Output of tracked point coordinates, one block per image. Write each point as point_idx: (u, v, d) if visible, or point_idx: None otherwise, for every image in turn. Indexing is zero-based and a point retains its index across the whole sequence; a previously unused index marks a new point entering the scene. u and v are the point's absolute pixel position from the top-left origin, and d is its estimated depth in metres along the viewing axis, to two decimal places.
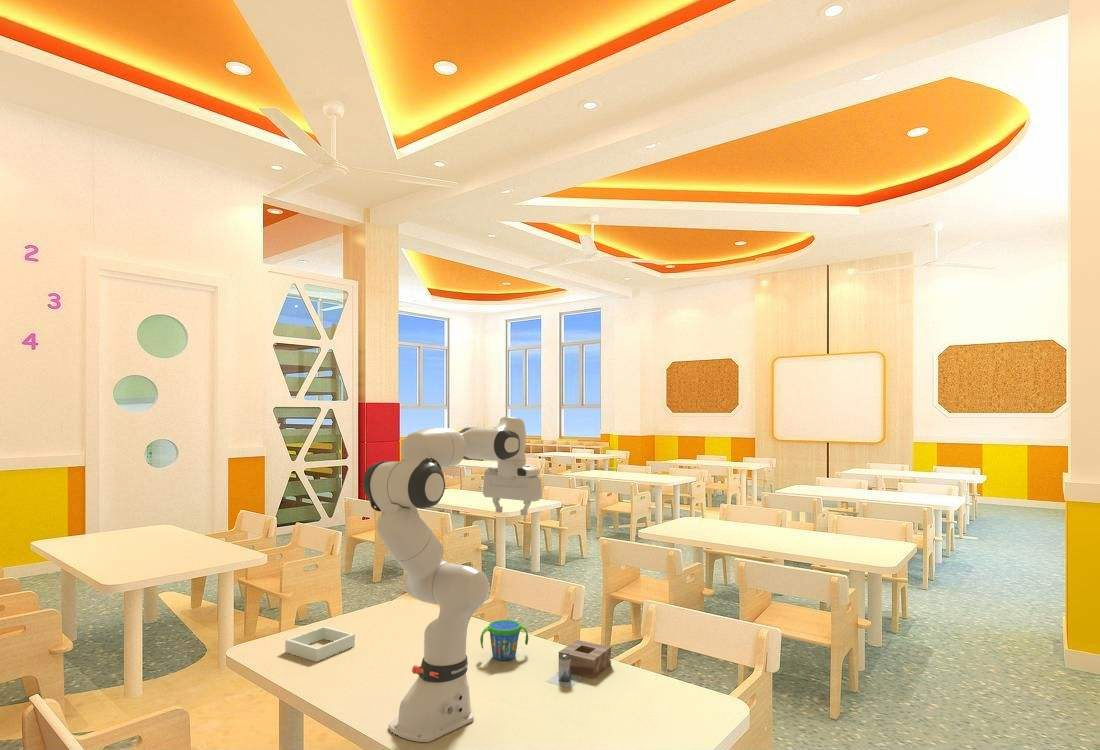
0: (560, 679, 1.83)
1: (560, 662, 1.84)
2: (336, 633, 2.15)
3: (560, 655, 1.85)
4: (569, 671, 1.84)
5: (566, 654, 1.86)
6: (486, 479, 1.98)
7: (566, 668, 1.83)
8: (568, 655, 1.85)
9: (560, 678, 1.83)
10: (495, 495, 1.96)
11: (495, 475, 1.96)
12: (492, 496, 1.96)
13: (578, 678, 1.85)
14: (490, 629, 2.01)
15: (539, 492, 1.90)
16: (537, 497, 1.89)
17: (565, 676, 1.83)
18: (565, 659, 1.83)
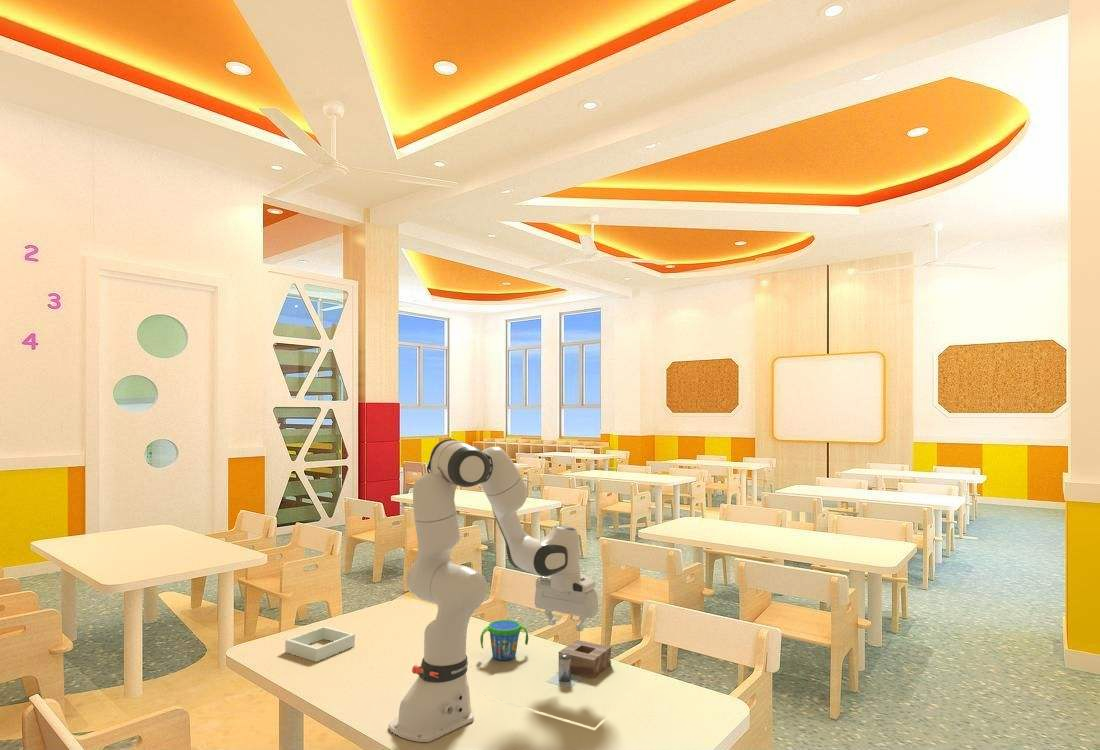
0: (560, 679, 1.83)
1: (560, 662, 1.84)
2: (336, 633, 2.15)
3: (560, 655, 1.85)
4: (569, 671, 1.84)
5: (566, 654, 1.86)
6: (538, 590, 1.89)
7: (566, 668, 1.83)
8: (568, 655, 1.85)
9: (560, 678, 1.83)
10: (548, 607, 1.87)
11: (548, 586, 1.87)
12: (545, 608, 1.88)
13: (578, 678, 1.85)
14: (490, 629, 2.01)
15: (596, 608, 1.81)
16: (594, 614, 1.80)
17: (565, 676, 1.83)
18: (565, 659, 1.83)
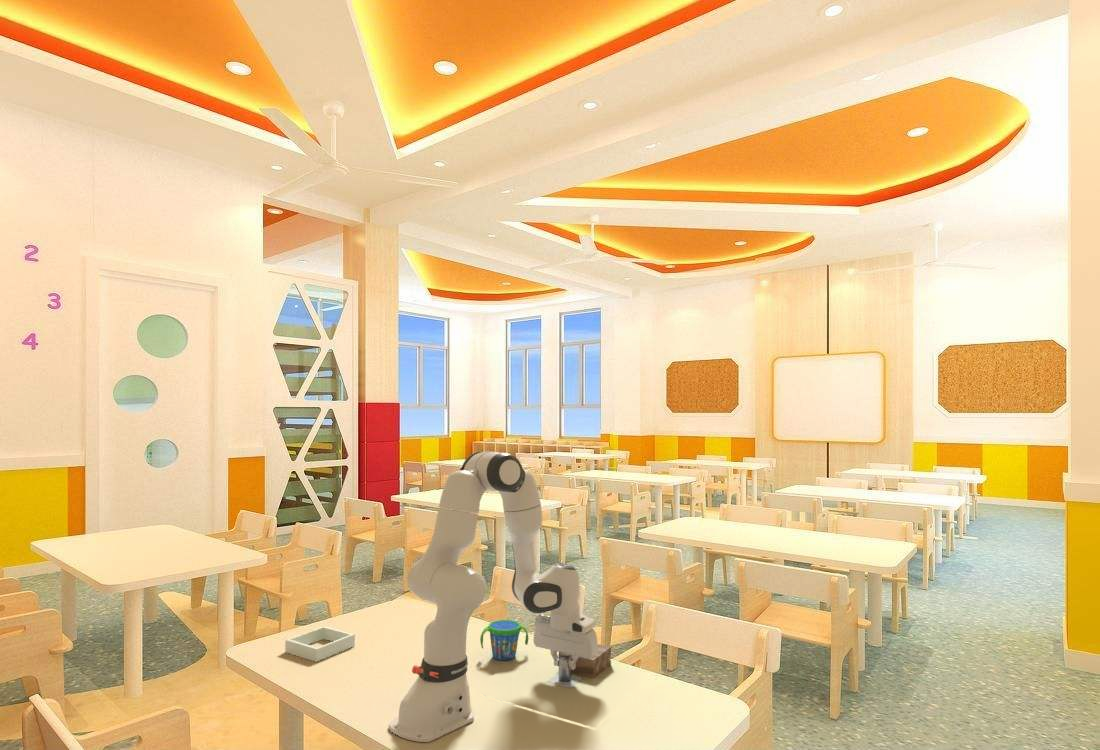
0: (560, 679, 1.83)
1: (560, 662, 1.84)
2: (336, 633, 2.15)
3: (560, 655, 1.85)
4: (569, 671, 1.84)
5: (566, 654, 1.86)
6: (537, 628, 1.88)
7: (566, 668, 1.83)
8: (568, 655, 1.85)
9: (560, 678, 1.83)
10: (547, 646, 1.86)
11: (547, 625, 1.87)
12: (544, 647, 1.87)
13: (578, 678, 1.85)
14: (490, 629, 2.01)
15: (595, 648, 1.81)
16: (593, 655, 1.79)
17: (565, 676, 1.83)
18: (565, 659, 1.83)
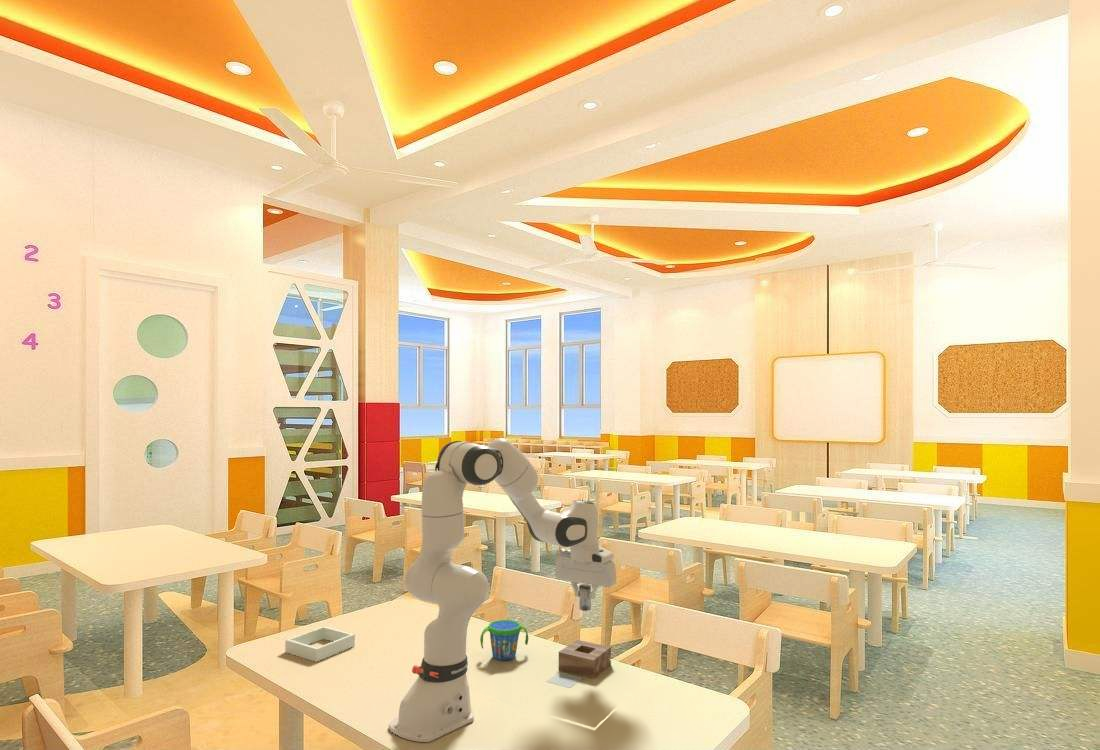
0: (581, 608, 1.93)
1: (581, 592, 1.93)
2: (336, 633, 2.15)
3: (580, 586, 1.94)
4: (589, 600, 1.93)
5: (586, 585, 1.95)
6: (558, 561, 1.97)
7: (587, 597, 1.93)
8: (588, 586, 1.94)
9: (581, 607, 1.93)
10: (568, 578, 1.95)
11: (568, 558, 1.96)
12: (565, 579, 1.96)
13: (578, 678, 1.85)
14: (490, 629, 2.01)
15: (614, 577, 1.90)
16: (613, 583, 1.89)
17: (586, 605, 1.93)
18: (585, 589, 1.93)
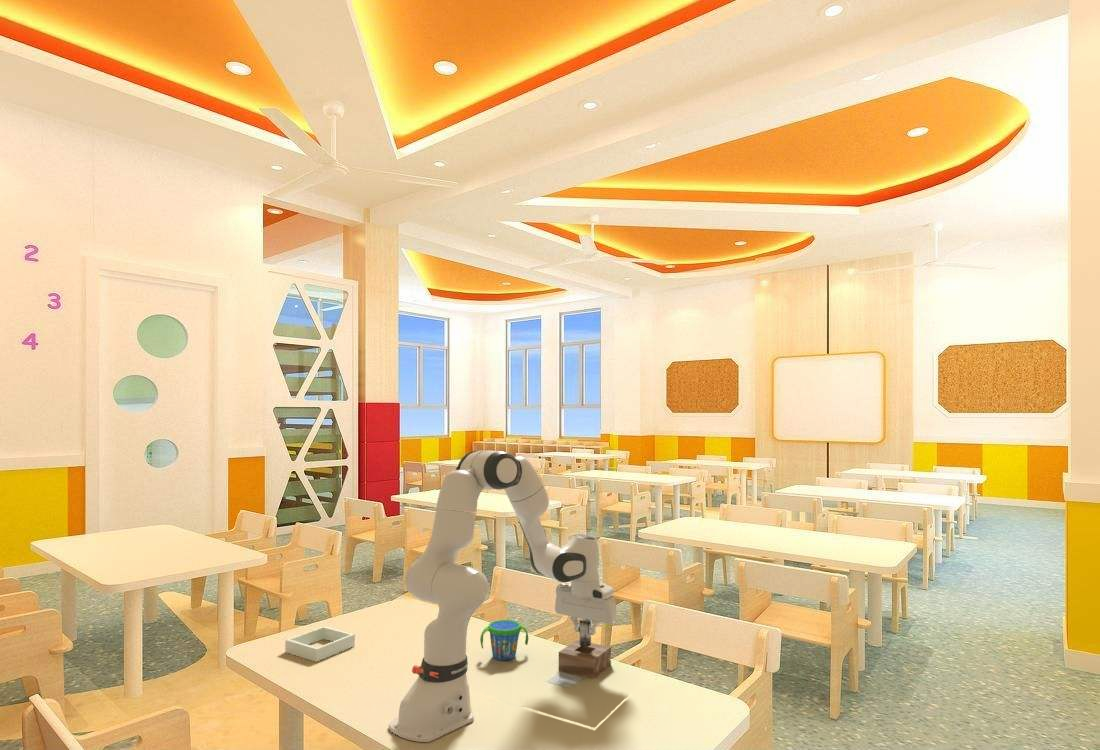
0: (581, 643, 1.93)
1: (581, 627, 1.93)
2: (336, 633, 2.15)
3: (581, 621, 1.94)
4: (589, 636, 1.93)
5: (586, 620, 1.95)
6: (558, 596, 1.98)
7: (587, 633, 1.93)
8: (588, 621, 1.94)
9: (581, 643, 1.93)
10: (568, 613, 1.95)
11: (568, 593, 1.96)
12: (565, 614, 1.96)
13: (578, 678, 1.85)
14: (490, 629, 2.01)
15: (615, 614, 1.90)
16: (613, 620, 1.89)
17: (586, 641, 1.92)
18: (585, 625, 1.93)
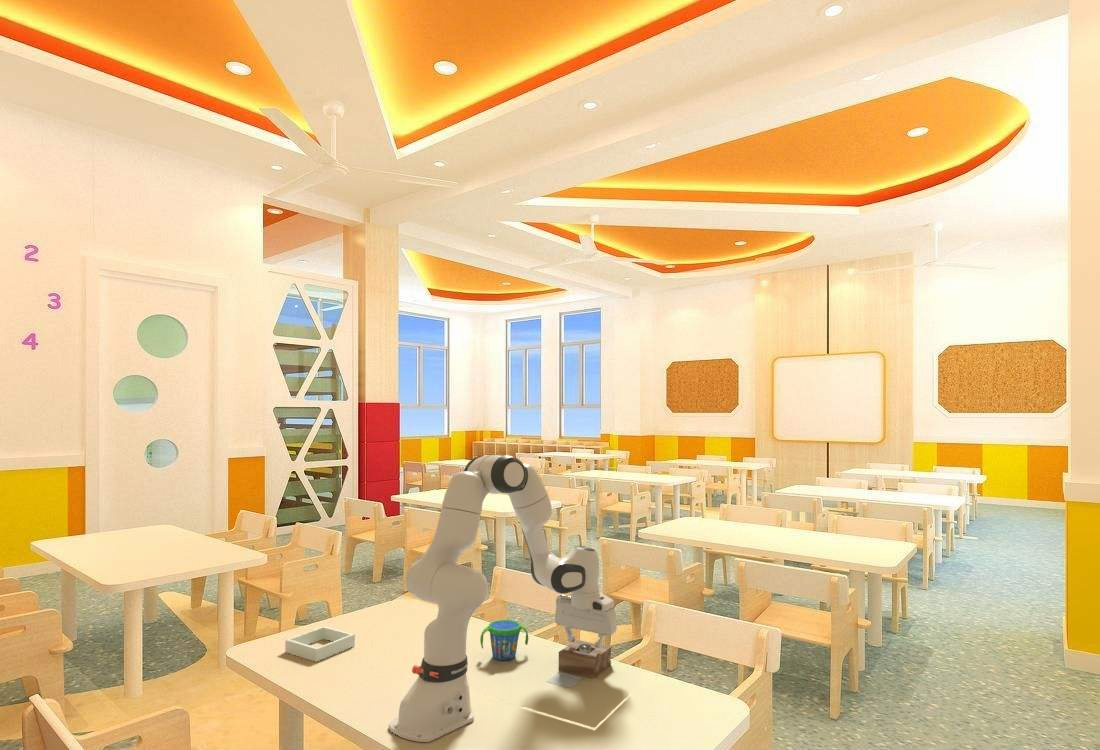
0: None
1: None
2: (336, 633, 2.15)
3: (580, 646, 1.94)
4: None
5: (586, 645, 1.95)
6: (558, 607, 1.97)
7: None
8: (588, 646, 1.94)
9: None
10: (568, 625, 1.95)
11: (568, 604, 1.96)
12: (565, 625, 1.96)
13: (578, 678, 1.85)
14: (490, 629, 2.01)
15: (615, 625, 1.90)
16: (613, 632, 1.89)
17: None
18: (585, 650, 1.92)
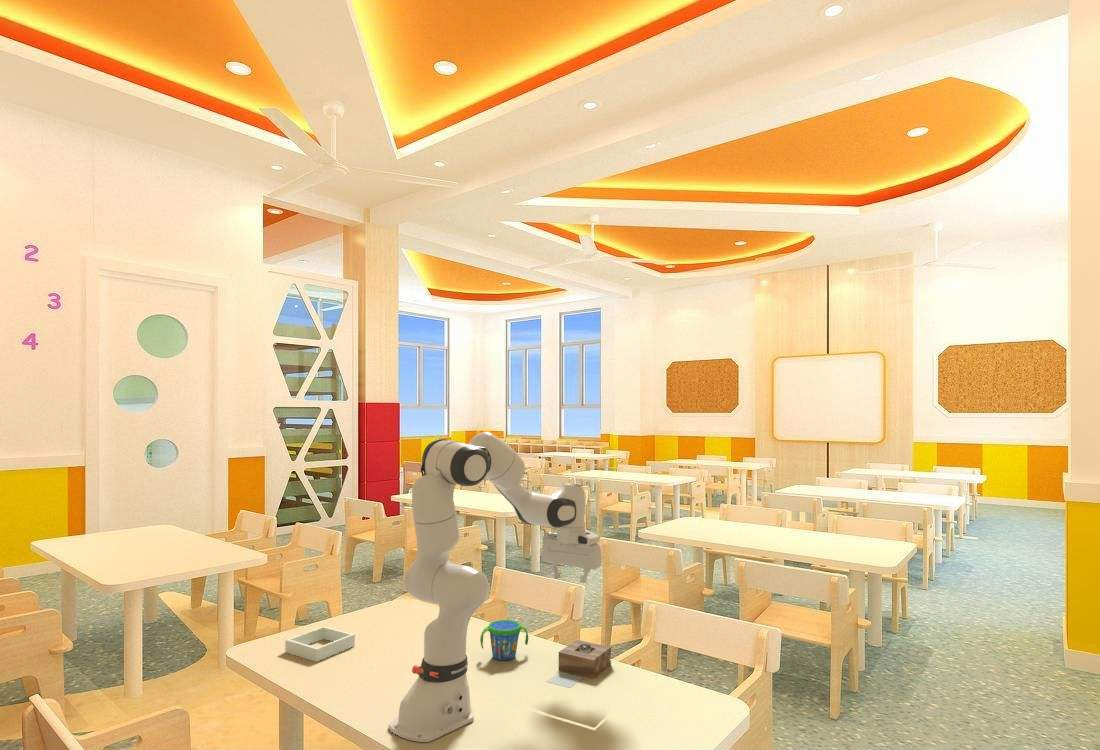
0: None
1: None
2: (336, 633, 2.15)
3: (580, 646, 1.94)
4: None
5: (586, 645, 1.95)
6: (545, 544, 1.99)
7: None
8: (588, 646, 1.94)
9: None
10: (554, 561, 1.97)
11: (554, 540, 1.97)
12: (551, 561, 1.97)
13: (578, 678, 1.85)
14: (490, 629, 2.01)
15: (600, 560, 1.91)
16: (598, 566, 1.90)
17: None
18: (585, 650, 1.92)
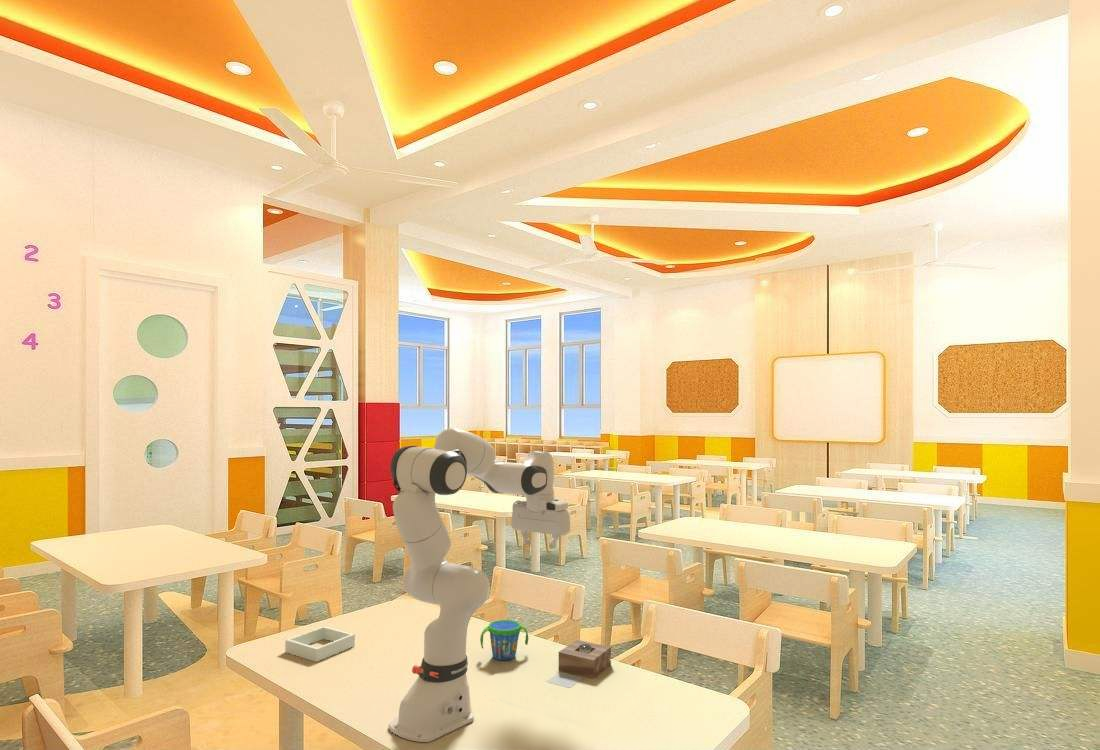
0: None
1: None
2: (336, 633, 2.15)
3: (580, 646, 1.94)
4: None
5: (586, 645, 1.95)
6: (514, 512, 2.00)
7: None
8: (588, 646, 1.94)
9: None
10: (524, 528, 1.98)
11: (523, 508, 1.99)
12: (521, 529, 1.99)
13: (578, 678, 1.85)
14: (490, 629, 2.01)
15: (568, 526, 1.93)
16: (566, 531, 1.92)
17: None
18: (585, 650, 1.92)
